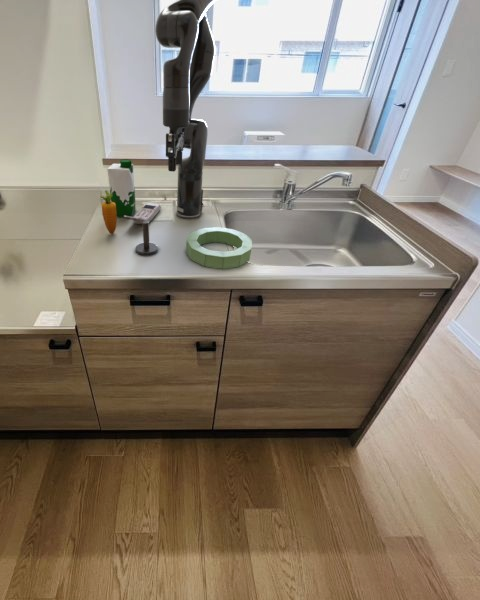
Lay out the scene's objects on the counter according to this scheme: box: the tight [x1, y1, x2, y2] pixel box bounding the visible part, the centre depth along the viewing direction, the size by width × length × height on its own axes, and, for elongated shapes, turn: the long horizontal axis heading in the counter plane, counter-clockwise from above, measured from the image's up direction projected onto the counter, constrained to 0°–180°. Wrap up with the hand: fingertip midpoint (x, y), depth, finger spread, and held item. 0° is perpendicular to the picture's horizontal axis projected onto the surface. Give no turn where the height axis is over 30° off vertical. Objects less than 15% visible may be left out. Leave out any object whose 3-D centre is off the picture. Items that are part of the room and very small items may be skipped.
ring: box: [185, 226, 253, 270], centre depth 100 cm, size 20×20×4 cm
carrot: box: [99, 189, 118, 236], centre depth 105 cm, size 5×5×15 cm
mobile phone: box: [123, 202, 162, 225], centre depth 119 cm, size 6×6×25 cm
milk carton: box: [106, 158, 136, 218], centre depth 119 cm, size 9×9×20 cm
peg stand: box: [135, 221, 159, 257], centre depth 98 cm, size 7×7×10 cm
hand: (175, 167), depth 98 cm, fingers open, 8 cm apart
